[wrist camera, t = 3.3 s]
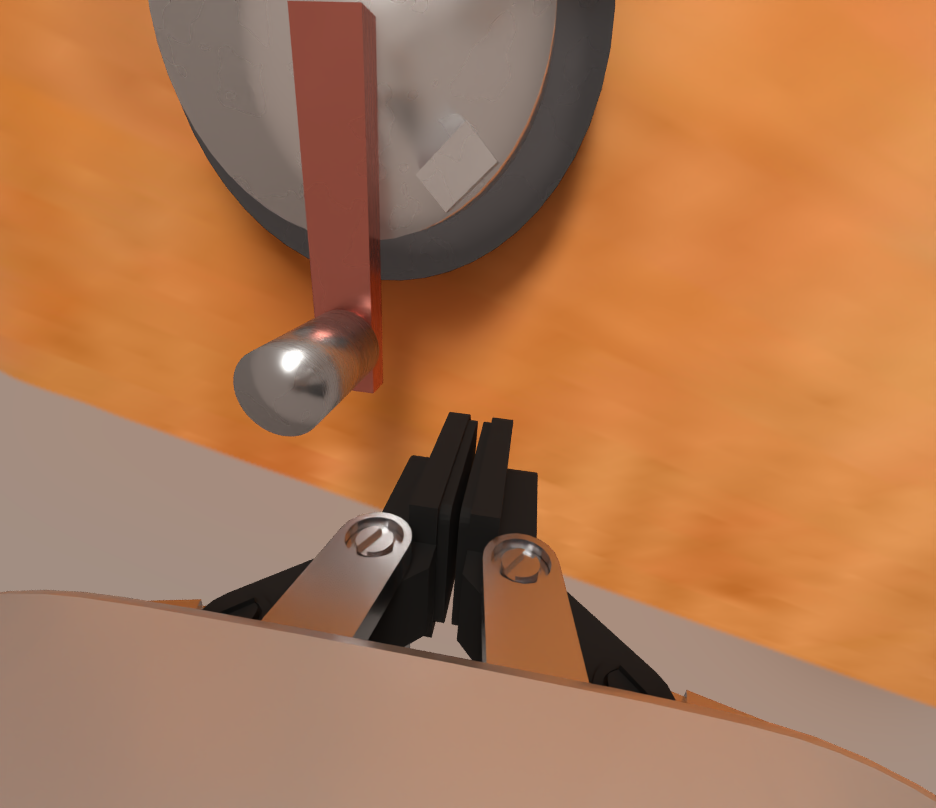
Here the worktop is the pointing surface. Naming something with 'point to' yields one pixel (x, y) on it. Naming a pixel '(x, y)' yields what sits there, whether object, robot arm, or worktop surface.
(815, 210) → the worktop surface
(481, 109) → the crank handle wheel
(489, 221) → the gray plate
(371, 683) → the robot arm
